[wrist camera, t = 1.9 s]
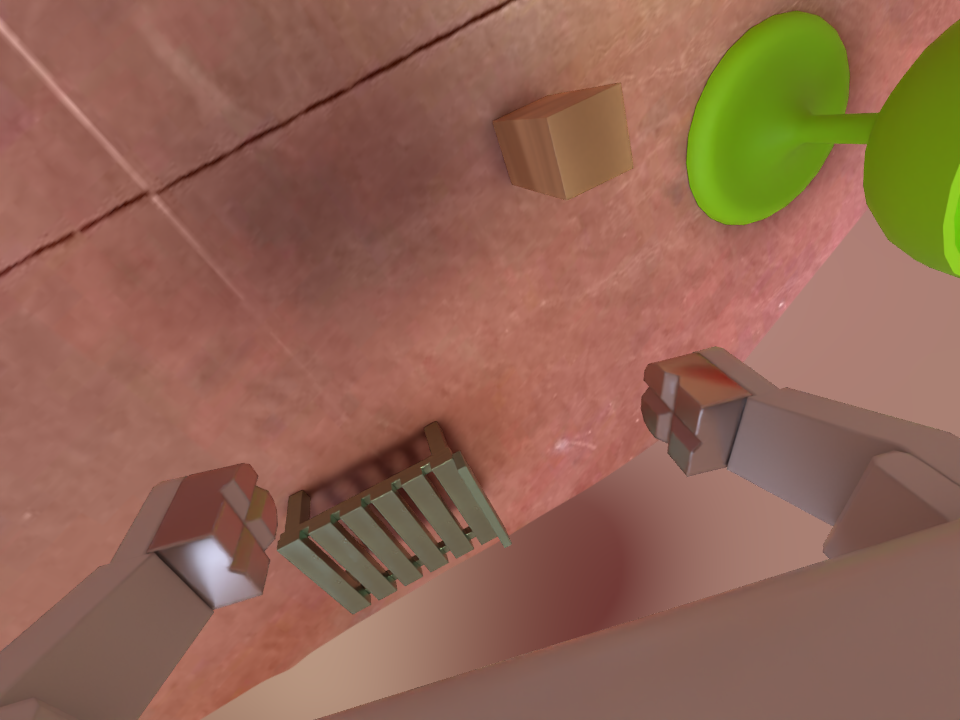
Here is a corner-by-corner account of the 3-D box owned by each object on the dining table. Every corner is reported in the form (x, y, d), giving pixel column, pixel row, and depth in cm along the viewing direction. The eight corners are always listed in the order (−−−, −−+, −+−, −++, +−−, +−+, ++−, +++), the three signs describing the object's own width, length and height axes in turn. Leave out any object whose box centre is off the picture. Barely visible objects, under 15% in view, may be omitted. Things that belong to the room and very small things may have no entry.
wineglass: (711, 259, 41) (934, 334, 26) (662, 98, 32) (954, 66, 17) (849, 155, 40) (1165, 168, 25) (837, -41, 31) (1310, -204, 16)
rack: (445, 413, 40) (465, 465, 34) (488, 488, 46) (512, 544, 40) (283, 496, 39) (274, 566, 32) (350, 561, 45) (353, 630, 39)
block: (511, 184, 32) (567, 201, 24) (491, 121, 29) (546, 117, 22) (563, 159, 32) (633, 168, 24) (548, 94, 30) (621, 82, 22)
